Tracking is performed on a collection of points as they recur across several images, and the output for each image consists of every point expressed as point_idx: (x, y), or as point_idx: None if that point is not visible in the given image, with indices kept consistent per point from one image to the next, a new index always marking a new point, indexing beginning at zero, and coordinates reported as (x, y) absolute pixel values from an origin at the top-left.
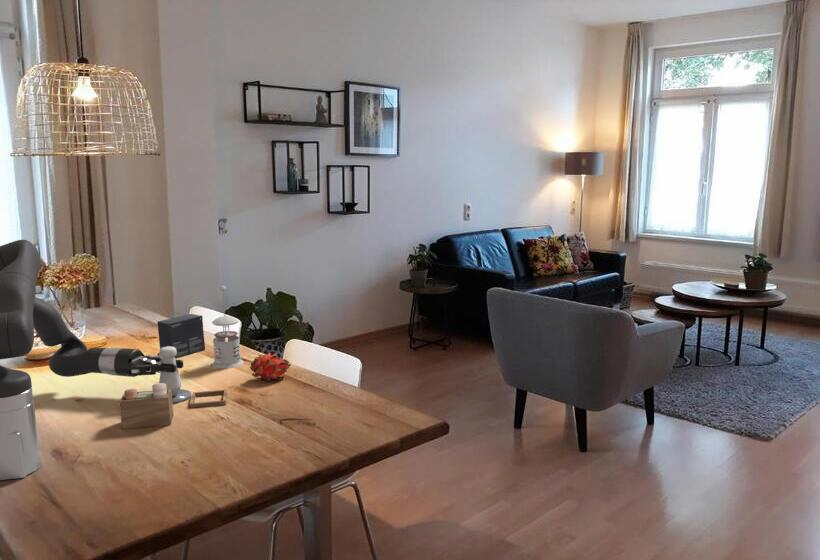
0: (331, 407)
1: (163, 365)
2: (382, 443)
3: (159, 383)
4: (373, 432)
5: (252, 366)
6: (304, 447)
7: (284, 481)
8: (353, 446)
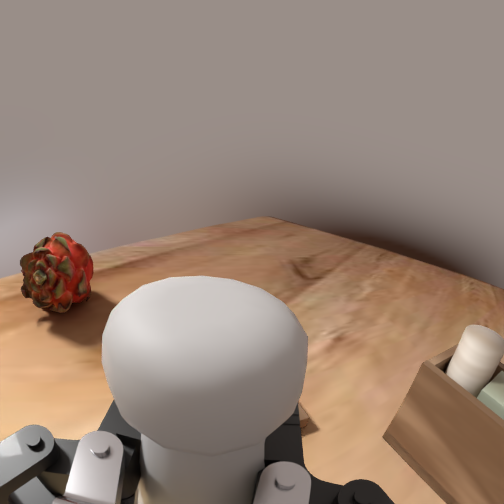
0: (240, 249)
1: (281, 451)
2: (327, 233)
3: (478, 345)
4: (306, 234)
5: (62, 282)
6: (371, 261)
7: (433, 265)
8: (345, 242)
